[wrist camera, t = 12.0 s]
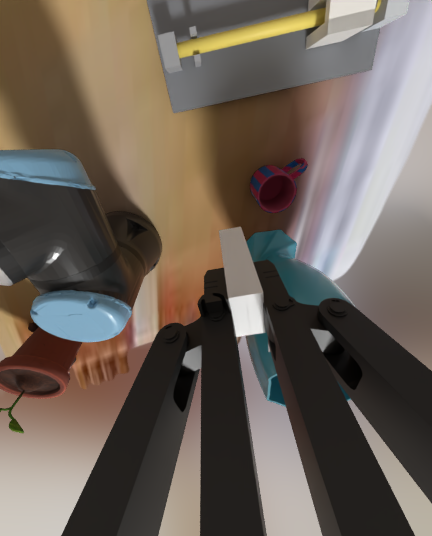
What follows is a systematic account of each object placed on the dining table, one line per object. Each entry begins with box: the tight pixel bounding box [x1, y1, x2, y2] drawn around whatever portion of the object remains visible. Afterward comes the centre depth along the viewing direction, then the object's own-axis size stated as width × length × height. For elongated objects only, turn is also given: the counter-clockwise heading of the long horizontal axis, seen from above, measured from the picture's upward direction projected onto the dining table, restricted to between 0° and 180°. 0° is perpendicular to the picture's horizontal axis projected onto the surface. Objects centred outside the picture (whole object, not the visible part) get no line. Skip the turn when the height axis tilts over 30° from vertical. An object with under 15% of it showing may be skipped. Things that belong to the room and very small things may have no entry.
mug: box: [250, 158, 308, 213], centre depth 38 cm, size 7×10×7 cm
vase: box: [246, 230, 357, 407], centre depth 39 cm, size 17×17×30 cm
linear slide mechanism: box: [147, 0, 410, 113], centre depth 27 cm, size 30×12×6 cm, turn 100°
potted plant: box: [0, 323, 82, 433], centre depth 54 cm, size 18×22×25 cm
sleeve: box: [306, 0, 377, 49], centre depth 25 cm, size 5×5×6 cm
